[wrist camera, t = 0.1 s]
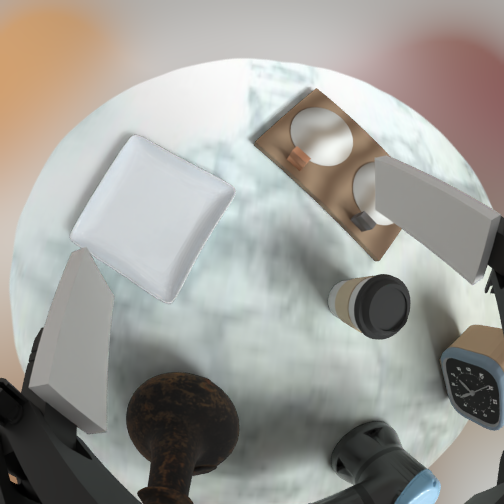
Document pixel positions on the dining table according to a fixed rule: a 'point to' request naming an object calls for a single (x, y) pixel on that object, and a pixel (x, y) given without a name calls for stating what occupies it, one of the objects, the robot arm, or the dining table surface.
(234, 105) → the dining table surface
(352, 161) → the tag board
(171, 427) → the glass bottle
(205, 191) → the salad plate
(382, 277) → the coffee cup
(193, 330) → the dining table surface
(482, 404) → the alarm clock
